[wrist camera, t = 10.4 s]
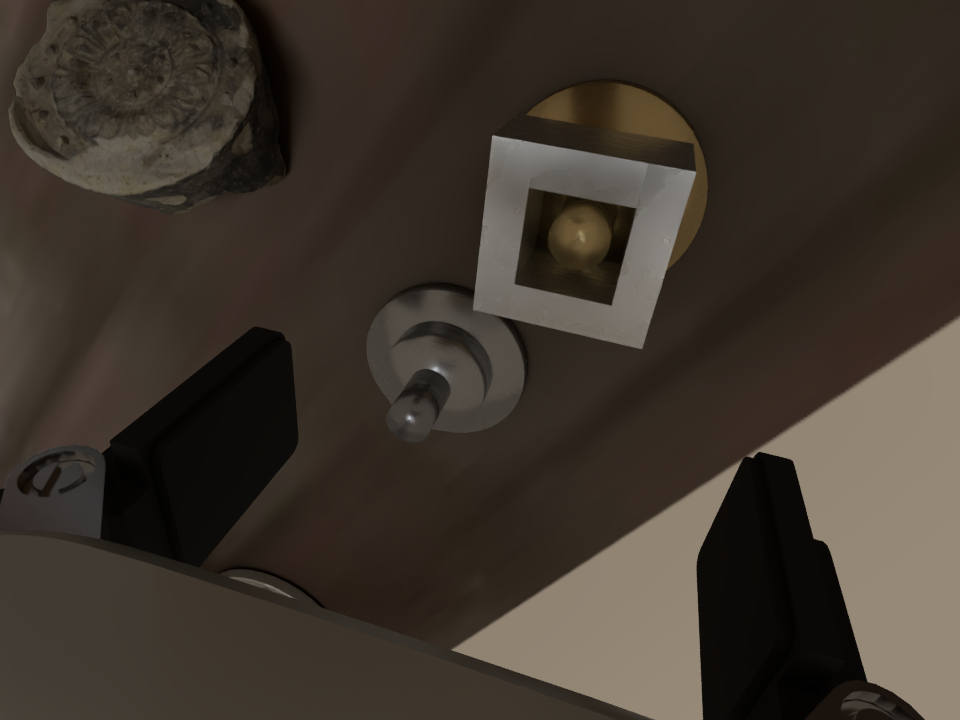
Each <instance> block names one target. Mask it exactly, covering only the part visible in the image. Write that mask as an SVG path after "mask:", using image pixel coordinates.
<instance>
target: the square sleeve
mask: <svg viewBox="0 0 960 720" xmlns="http://www.w3.org/2000/svg"><path fill="white" fill-rule="evenodd" d="M695 175H696V163H695V153H694V144H693V143H687V142H681V141H676V140H670V139H664V138H658V137H652V136H646V135H641V134H635V133H629V132H623V131H617V130H611V129H606V128H600V127H594V126H588V125H582V124H576V123H570V122H565V121H559V120H553V119H547V118H541V117H535V116H530V115H524V114H518V115H517V116H516V117H515V118H513V119H512V120H511V121H510V122H508V123H507V124H506V125H505V126H503V127H502V128H501V129H500V130H499V131H497V132H496V133H495V134H494V135H492V144H491V153H490V162H489V171H488V180H487V188H486V197H485V206H484V215H483V224H482V233H481V242H480V251H479V259H478V268H477V277H476V286H475V295H474V304H473V310H475V311H480V312H484V313H488V314H493V315H497V316H501V317H506V318H510V319H514V320H518V321H523V322H527V323H531V324H536V325H540V326H544V327H549V328H553V329H557V330H561V331H566V332H570V333H574V334H579V335H583V336H587V337H592V338H596V339H600V340H605V341H609V342H613V343H617V344H622V345H626V346H630V347H635V348H639V349H642V347H643V344H644V341H645V338H646V334H647V331H648V328H649V325H650V321H651V318H652V315H653V311H654V308H655V305H656V302H657V298H658V295H659V292H660V289H661V285H662V282H663V279H664V276H665V272H666V269H667V266H668V263H669V259H670V256H671V253H672V250H673V246H674V243H675V240H676V237H677V233H678V230H679V227H680V224H681V220H682V217H683V214H684V211H685V207H686V204H687V201H688V197H689V194H690V191H691V188H692V184H693V181H694V178H695ZM545 191H549V192H554V193H559V194H564V195H569V196H575V197H580V198H585V199H590V200H595V201H600V202H606V203H611V204H616V205H621V206H626V207H632V208H635V209H634V213H633V217H632V220H631V224H630V228H629V232H628V236H627V240H626V244H625V248H624V251H623V255H622V259H621V263H617V262H612V261H607V260H602V261H601V262H600V263H598V264H597V265H595V266H593V267H591V268H588V269H582V270H577V269H571V268H568V267H566V266H564V265H562V264H561V263H559V262H558V261H557V260H556V259H555V258H554V256H553V255H552V253H551V251H550V248H545V247H540V246H536V240H537V234H538V228H539V222H540V216H541V210H542V204H543V198H544V192H545Z"/></svg>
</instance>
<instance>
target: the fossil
mask: <svg viewBox="0 0 960 720" xmlns="http://www.w3.org/2000/svg"><path fill="white" fill-rule="evenodd" d="M13 84H14V86H15V88H16V97H15V99H14V101H13V102H12V104H11V106H10V108H9V118H10V125H11V131H12V133H13V135H14V137H15V139H16V141H17V143H18V144H19V145H20V146H21V148H22V149H23V150H24V152H25V153H26V154H27V155H28V156H29V157H30V158H31V159H33V160H34V161H35V162H36V163H38V164H39V165H40V166H41V167H43V168H45V169H46V170H48V171H50V172H52V173H53V174H55V175H57V176H58V177H60V178H61V179H63V180H65V181H67V182H69V183H70V184H73V185H76V186H79V187H82V188H85V189H87V190H90V191H94V192H97V193H101V194H104V195H108V196H112V197H115V198H117V199H120V200H123V201H126V202H129V203H132V204H135V205H139V206H142V207H146V208H152V209H155V210H157V211H159V212H162V213H164V214H167V215H172V214H174V215H179V214H184V213H188V212H192V211H194V210H196V209H197V208H198V207H201V206H203V205H206V204H207V203H209V202H210V201H212V200H213V199H215V198H216V197H218V196H219V195H221V194H222V193H224V192H228V193H246V192H253V191H255V190H258V189H261V188H263V187H264V186H268V187H270V186H271V185H272V184H274V185H275V184H276V183H277V182H278V181H279V180H280V179H281V178H283V177H284V176H286V167H285V164H284V160H283V157H282V155H281V152H280V146H279V145H278V143H277V139H278V133H279V129H280V125H279V118H278V112H277V108H276V104H275V101H274V97H273V94H272V90H271V86H270V81H269V77H268V73H267V70H266V68H265V65H264V63H263V58H262V54H261V49H260V44H259V40H258V35H257V33H256V31H255V29H254V27H253V25H252V24H251V22H250V21H249V19H248V17H247V16H246V14H245V13H244V11H243V10H242V8H241V7H240V6H239V4H238V3H237V2H236V0H54V1H53V2H52V3H51V5H50V6H49V7H48V10H47V29H46V31H45V33H44V35H43V37H42V38H41V40H40V42H38V43H37V44H35V45H34V46H33V47H32V48H31V50H30V52H29V54H28V56H27V58H26V59H25V61H24V63H23V64H22V65H20V66H19V67H18V70H17V74H16V77H15V80H14V83H13Z"/></svg>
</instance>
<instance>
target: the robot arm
mask: <svg viewBox="0 0 960 720" xmlns="http://www.w3.org/2000/svg"><path fill="white" fill-rule="evenodd" d="M297 443H298V426H297V413H296V400H295V387H294V375H293V362H292V349H291V344H290V343H289V342H288V341H285V337H284V335H283V334H282V333H280V332H277V331H273V330H269V329H265V328H261V327H253V328H252V329H250V330H249V331H247V332H246V333H245V334H244V335H242V336H241V337H240V338H239V339H237V340H236V341H235V342H234V343H232V344H231V345H230V346H229V347H227V348H226V349H225V350H224V351H222V352H221V353H220V354H219V355H217V356H216V357H215V358H213V359H212V360H211V361H210V362H208V363H207V364H206V365H205V366H203V367H202V368H201V369H200V370H198V371H197V372H196V373H195V374H193V375H192V376H191V377H190V378H188V379H187V380H186V381H184V382H183V383H182V384H181V385H179V386H178V387H177V388H176V389H174V390H173V391H172V392H171V393H169V394H168V395H167V396H166V397H164V398H163V399H162V400H161V401H159V402H158V403H157V404H155V405H154V406H153V407H152V408H150V409H149V410H148V411H147V412H145V413H144V414H143V415H142V416H140V417H139V418H138V419H137V420H135V421H134V422H133V423H132V424H130V425H129V426H128V427H127V428H125V429H124V430H123V431H121V432H120V433H119V434H118V435H116V436H115V437H114V438H113V439H111V440H110V444H111V446H110V447H109V448H108V449H106V450H105V451H104V452H103V453H100V452H99V451H98V450H97V449H94V448H92V447H89V446H82V445H68V446H60V447H56V448H52V449H48V450H45V451H43V452H40V453H38V454H36V455H33V456H31V457H30V458H28V459H27V460H25V461H24V462H22V463H20V464H19V465H18V466H17V467H16V468H15V469H14V470H13V471H12V472H11V473H10V475H9V477H8V479H7V481H6V484H5V488H4V489H0V720H653V719H651V718H648V717H645V716H642V715H640V714H637V713H634V712H631V711H628V710H625V709H623V708H620V707H617V706H614V705H612V704H609V703H606V702H603V701H600V700H597V699H594V698H592V697H589V696H586V695H582V694H580V693H577V692H574V691H571V690H568V689H565V688H562V687H559V686H556V685H553V684H550V683H547V682H544V681H541V680H538V679H535V678H532V677H529V676H526V675H523V674H520V673H517V672H514V671H511V670H508V669H505V668H502V667H500V666H496V665H494V664H490V663H488V662H485V661H482V660H478V659H476V658H472V657H469V656H467V655H464V654H461V653H458V652H455V651H452V650H449V649H446V648H443V647H440V646H437V645H434V644H431V643H428V642H425V641H422V640H419V639H416V638H413V637H410V636H406V635H403V634H400V633H397V632H394V631H391V630H388V629H385V628H382V627H379V626H376V625H373V624H370V623H367V622H364V621H361V620H358V619H355V618H352V617H349V616H346V615H343V614H340V613H337V612H334V611H331V610H328V609H325V608H322V607H320V606H319V605H318V604H317V603H316V602H315V601H314V600H313V599H311V598H310V597H309V596H307V595H306V594H305V593H303V592H302V591H301V590H299V589H297V588H296V587H294V586H293V585H291V584H289V583H287V582H285V581H283V580H281V579H279V578H277V577H274V576H271V575H269V574H266V573H262V572H258V571H254V570H245V569H236V570H228V571H225V572H222V573H220V574H217V573H214V572H211V571H207V570H204V569H201V568H199V567H200V566H201V564H202V563H203V562H204V561H205V559H206V558H207V557H208V556H209V555H210V553H211V552H212V551H213V550H214V549H215V547H216V546H217V545H218V544H219V543H220V541H221V540H222V539H223V538H224V536H225V535H226V534H227V533H228V532H229V530H230V529H231V528H232V527H233V526H234V524H235V523H236V522H237V521H238V519H239V518H240V517H241V516H242V515H243V513H244V512H245V511H246V510H247V509H248V507H249V506H250V505H251V504H252V503H253V501H254V500H255V499H256V498H257V496H258V495H259V494H260V493H261V492H262V490H263V489H264V488H265V487H266V486H267V484H268V483H269V482H270V481H271V480H272V478H273V477H274V476H275V475H276V473H277V472H278V471H279V470H280V469H281V467H282V466H283V465H284V464H285V463H286V461H287V460H288V459H289V458H290V457H291V455H292V454H293V453H294V451H295V449H296V446H297ZM697 591H698V612H699V634H700V658H701V681H702V703H703V720H925V719H924V718H923V717H922V716H921V715H920V714H919V713H918V712H917V711H915V709H913V707H912V706H911V705H909V704H908V703H907V702H905V701H904V700H903V699H901V698H899V697H898V696H897V695H896V694H894V693H893V692H891V691H889V690H887V689H884V688H883V687H880V686H878V685H876V684H873V683H869V682H867V679H866V675H865V672H864V668H863V665H862V662H861V658H860V654H859V651H858V648H857V644H856V640H855V637H854V633H853V630H852V626H851V623H850V619H849V616H848V613H847V609H846V605H845V602H844V599H843V595H842V591H841V588H840V585H839V581H838V577H837V574H836V571H835V567H834V563H833V560H832V556H831V553H830V551H829V548H828V546H827V545H826V544H825V543H824V542H823V541H819V540H816V539H814V538H813V535H812V531H811V527H810V523H809V519H808V516H807V512H806V508H805V504H804V500H803V497H802V493H801V489H800V485H799V481H798V477H797V474H796V470H795V466H794V463H793V461H792V460H790V459H787V458H783V457H779V456H774V455H770V454H766V453H762V452H758V453H757V454H756V455H755V456H754V458H751V457H745V458H744V459H743V460H742V462H741V464H740V466H739V468H738V470H737V473H736V475H735V477H734V479H733V481H732V483H731V485H730V488H729V489H728V492H727V494H726V496H725V498H724V500H723V502H722V505H721V507H720V509H719V511H718V513H717V515H716V517H715V519H714V521H713V523H712V526H711V528H710V530H709V532H708V534H707V536H706V539H705V541H704V543H703V545H702V547H701V549H700V552H699V555H698V559H697Z"/></svg>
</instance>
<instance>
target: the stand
mask: <svg viewBox="0 0 960 720" xmlns="http://www.w3.org/2000/svg"><path fill="white" fill-rule="evenodd" d="M474 295H475V292H474V291H472V290H469V289H466V288H464V287H460V286H456V285H452V284H444V283H428V284H421V285H417V286H414V287H410V288H408V289H406V290H404V291H402V292H400V293H399V294H397V295H396V296H394V297H393V298H392V299H391V300H390V301H389V302H388V303H387V304H386V305H385V306H384V307H383V308H382V309H381V310H380V312H379V313H378V314H377V316H376V317H375V319H374V320H373V322H372V324H371V326H370V329H369V332H368V337H367V359H368V363H369V367H370V370H371V373H372V375H373V377H374V379H375V381H376V383H377V385H378V387H379V388H380V389H381V391H382V392H383V394H384V395H385V396H386V397H387V399H388V400H389V402H390V403H391V405H392V406H391V408H390V409H389V411H388V412H387V414H386V423H387V426H388V428H389V430H390V431H391V432H392V433H393V434H394V435H395V436H396V437H398V438H399V439H401V440H403V441H406V442H410V443H417V442H421V441H423V440H424V439H425V438H426V437H427V436H428V434H429V433H430V431H431V429H433V430H441V431H446V432H454V433H470V432H476V431H480V430H484V429H487V428H489V427H492V426H494V425H496V424H497V423H499V422H501V421H502V420H503V419H504V418H506V417H507V416H508V415H509V414H510V413H511V411H512V410H513V409H514V408H515V406H516V404H517V403H518V401H519V398H520V396H521V393H522V391H523V388H524V385H525V383H526V378H527V373H528V361H527V353H526V349H525V346H524V343H523V341H522V338H521V336H520V334H519V332H518V330H517V329H516V327H515V325H514V324H513V323H512V321H511V320H510V319H509V318H506V317H501V316H497V315H493V314H488V313H484V312H480V311H475V310H473V304H474Z"/></svg>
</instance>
